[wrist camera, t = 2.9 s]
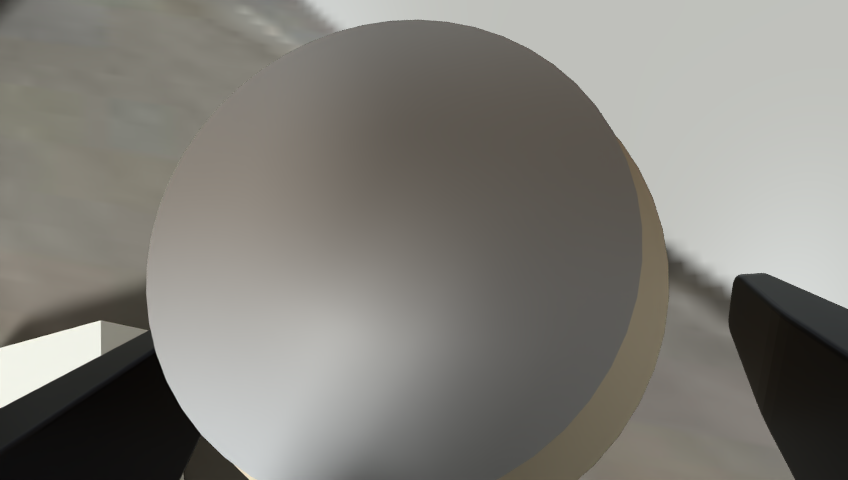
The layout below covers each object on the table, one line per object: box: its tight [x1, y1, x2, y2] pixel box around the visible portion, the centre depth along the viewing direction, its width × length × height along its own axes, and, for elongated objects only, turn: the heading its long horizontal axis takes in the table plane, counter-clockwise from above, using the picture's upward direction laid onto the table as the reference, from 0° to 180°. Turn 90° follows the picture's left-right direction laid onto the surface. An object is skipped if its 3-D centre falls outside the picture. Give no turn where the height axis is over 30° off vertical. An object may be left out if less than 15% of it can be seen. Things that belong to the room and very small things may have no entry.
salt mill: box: [146, 20, 669, 480], centre depth 10 cm, size 5×5×13 cm
